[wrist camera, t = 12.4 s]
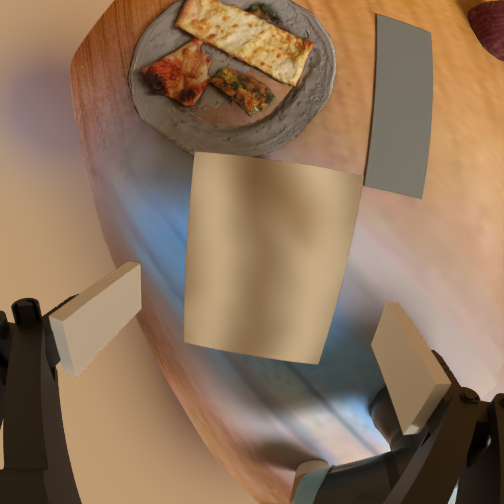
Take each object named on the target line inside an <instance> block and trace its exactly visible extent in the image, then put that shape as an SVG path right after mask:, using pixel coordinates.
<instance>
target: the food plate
mask: <svg viewBox="0 0 504 504" xmlns="http://www.w3.org/2000/svg"><path fill="white" fill-rule="evenodd" d="M299 6H300V5H298V4H296V3H295V4H294V2H292V1H291V0H178V1H177V2H174V3H173V4H171V5H170V6H169V7H168V8H167V9H165V10H164V11H163V12H162V13H161V14H160V15H159V16H158V17H157V18H156V19H154V20H153V21H152V22H151V23H150V24H149V25H148V26H147V28H146V29H145V31H144V32H143V33H142V35H141V37H140V38H139V39H138V41H137V44H136V46H135V49H134V52H133V56H132V61H131V64H130V69H129V72H128V79H127V80H128V86H129V89H130V91H131V96H132V101H133V103H134V108H135V109H136V111H137V113H138V115H139V116H140V118H141V119H142V120H143V121H144V122H146V123H147V124H148V125H150V126H151V127H153V128H154V129H155V130H157V131H158V132H160V133H161V134H163V135H164V136H165V137H166V138H168V139H169V140H171V141H173V142H174V143H175V144H176V145H177V146H179V147H180V148H182V149H184V150H185V151H186V152H187V151H189V153H190V154H191V155H193V157H194V155H195V152H206V153H218V154H228V155H238V156H246V157H255V156H257V155H259V156H260V155H262V154H264V153H265V154H266V153H268V152H272V151H273V150H276V149H277V148H280V147H281V146H282V145H284V144H286V143H288V142H289V141H290V140H291V139H294V137H297V136H298V134H299V133H300V132H301V131H303V129H305V127H306V126H307V125H308V124H309V123H310V122H311V120H312V119H313V118H314V117H315V116H316V115H317V113H318V112H319V111H320V110H321V109H322V107H323V106H324V104H325V103H326V102H327V101H328V100H329V98H330V96H331V93H332V91H333V84H334V78H335V73H336V59H335V58H336V57H335V52H334V50H335V49H334V46H333V44H332V40H331V38H330V37H329V34H328V33H327V32H326V30H325V29H324V28H323V26H322V25H321V23H320V21H319V20H318V19H317V18H318V17H317V18H316V17H315V16H313V15H314V14H313V15H312V13H311V12H310V11H308V10H307V11H306V9H305V8H303V7H302V8H301V6H300V7H299ZM304 9H305V10H304ZM309 12H310V13H311V14H310V13H309ZM205 51H206V52H208V55H206V54H205ZM222 60H223V62H221V61H222ZM228 63H229V64H230V65H228V66H227V67H226V65H227V64H228ZM309 63H310V64H309ZM249 69H252V72H255V73H258V74H259V75H265V76H267V77H268V78H269V79H273V80H274V81H277V82H279V83H282V84H283V83H286V84H288V85H289V86H293V87H294V88H293V89H291V90H290V92H289V93H288V94H287V95H286V97H285V98H284V99H283V101H282V102H281V103H280V104H279V105H278V106H277V107H276V108H275V109H274V111H273V112H272V113H271V114H270V115H268V116H266V117H264V118H263V119H262V120H260V119H259V120H257V121H256V122H255V123H251V122H250V123H248V124H247V125H246V126H244V127H243V126H242V127H239V126H235V125H234V126H233V127H234V128H231V127H229V128H228V127H227V125H222V123H220V124H219V123H217V125H218V127H214V126H212V125H211V124H207V123H205V121H203V122H204V123H203V124H200V123H198V122H196V121H192V120H191V119H192V118H190V116H189V115H190V114H191V115H192V116H195V113H196V112H191V108H193V109H195V108H197V107H198V110H199V109H200V108H202V107H204V105H206V104H207V105H208V106H209V105H210V106H211V108H215V109H218V108H219V107H220V106H221V103H223V102H224V104H225V105H226V104H228V103H230V106H232V104H231V102H232V100H234V101H235V102H236V103H237V104H238V105H240V106H241V108H243V109H244V110H245V111H246V112H247V113H248V116H250V117H252V114H255V113H256V112H258V111H262V112H263V111H265V110H266V109H267V108H268V107H270V102H272V101H273V100H276V97H275V96H274V95H273V94H272V92H271V90H270V89H269V87H267V86H266V85H265V84H264V85H262V84H261V83H260V82H257V81H256V80H255V79H253V78H251V77H250V76H249V75H246V74H247V71H248V70H249ZM218 91H219V92H218ZM223 92H224V93H223ZM229 98H231V99H229ZM216 102H219V103H218V105H217V104H215V103H216ZM223 106H224V105H222V107H223ZM186 107H187V108H186ZM203 109H204V110H207V107H206V108H203ZM181 110H186V112H182V111H181ZM186 113H187V114H186ZM198 113H199V112H198V111H197V115H198ZM220 113H221V111H220ZM218 116H220V114H218ZM220 117H222V116H220ZM195 118H196V117H195ZM196 119H199V120H200V121H202V120H201V119H200V118H199V117H197V118H196ZM204 119H205V120H206V118H204ZM181 121H184V123H182V122H181ZM213 122H214V121H213ZM243 122H244V121H243Z"/></svg>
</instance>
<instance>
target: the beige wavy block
mask: <svg viewBox="0 0 504 504" xmlns="http://www.w3.org/2000/svg"><path fill="white" fill-rule="evenodd" d="M363 179H364V176H361V175H357V174H352V173H347V172H342V171H337V170H332V169H326V168H321V167H315V166H309V165H303V164H297V163H291V162H284V161H277V160H270V159H263V158H255V157H246V156H238V155H228V154H218V153H206V152H195V155H194V164H193V174H192V184H191V195H190V207H189V219H188V233H187V249H186V269H185V294H184V342H185V343H190V344H194V345H199V346H203V347H208V348H213V349H218V350H223V351H228V352H234V353H239V354H245V355H251V356H257V357H263V358H270V359H277V360H284V361H291V362H299V363H308V364H317V365H318V364H319V361H320V358H321V355H322V351H323V348H324V345H325V342H326V339H327V335H328V332H329V329H330V325H331V322H332V318H333V315H334V311H335V308H336V304H337V300H338V296H339V293H340V289H341V285H342V281H343V277H344V273H345V269H346V265H347V260H348V256H349V252H350V247H351V243H352V238H353V233H354V228H355V223H356V218H357V213H358V208H359V202H360V197H361V191H362V185H363Z"/></svg>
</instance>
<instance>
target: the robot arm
mask: <svg viewBox="0 0 504 504" xmlns="http://www.w3.org/2000/svg"><path fill="white" fill-rule="evenodd" d="M11 308H12V312H13V316H14V320H15V323H10V322H8V321H7V318H6V314H5V312H3V311H0V429H1V425H2V421H4V422H3V448H4V468H3V469H2V470H0V504H82V503H81V500H80V497H79V494H78V490H77V487H76V483H75V480H74V476H73V472H72V468H71V463H70V459H69V455H68V450H67V445H66V439H65V434H64V428H63V421H62V414H61V407H60V398H59V387H58V375H57V369H56V364H58V363H59V362H60V361H61V365H62V368H63V370H64V372H66V373H68V374H70V375H72V376H74V377H78V376H79V375H80V374H81V373H82V371H83V370H84V369H85V368H86V367H87V366H88V365H89V364H90V363H91V362H92V360H93V359H94V358H95V357H96V356H97V355H98V354H99V353H100V352H101V351H102V350H103V349H104V348H105V347H106V345H107V344H108V343H109V342H110V341H111V340H112V339H113V338H114V337H115V336H116V335H117V334H118V333H119V332H120V330H121V329H122V328H123V327H124V326H125V325H126V324H127V323H128V322H129V321H130V320H131V319H132V318H133V317H134V316H135V315H136V314H137V313H138V312H139V311H140V310H141V309H142V302H141V273H140V263H135V262H130V261H128V262H127V263H125V264H123V265H122V266H120V267H119V268H117V269H116V270H115V271H113V272H111V273H110V274H108V275H107V276H105V277H104V278H102V279H101V280H99V281H98V282H96V283H95V284H93V285H92V286H91V287H89V288H88V289H86V290H85V291H83V292H82V293H80V294H77V295H74V296H71V297H69V298H68V299H66V300H65V301H64V302H63V303H61V304H59V305H58V307H55V308H54V309H52V310H51V311H50V312H48V313H47V314H45V315H44V316H42V315H41V310H40V306H39V302H38V300H36V299H33V298H23V299H20V300H18V301H16V302H14V303H13V304H12V306H11ZM371 347H372V349H373V352H374V354H375V357H376V359H377V362H378V364H379V367H380V370H381V372H382V375H383V378H384V380H385V383H386V387H384V388H383V389H382V390H381V391H380V393H379V394H378V395H377V396H376V398H375V399H374V401H373V403H372V406H371V416H372V420H373V423H374V426H375V427H376V428H377V429H378V431H380V433H381V434H382V436H383V437H384V438H385V440H386V441H387V442H388V443H389V445H390V449H391V451H390V452H387V453H384V454H380V455H377V456H374V457H370V458H367V459H363V460H359V461H355V462H351V463H347V464H343V465H338V466H335V465H332V466H330V467H328V468H325V469H320V470H316V471H312V472H309V473H307V474H306V475H305V476H304V477H303V478H302V479H301V481H300V483H299V485H298V487H297V490H296V494H295V499H294V504H452V503H454V502H455V504H504V393H499V394H496V396H495V397H494V398H493V400H492V401H491V402H484V401H480V397H479V395H478V394H477V393H476V392H475V391H473V390H472V389H470V388H466V387H461V386H460V385H459V383H458V381H457V380H456V378H455V377H454V375H453V373H452V372H451V370H449V367H448V366H447V365H446V363H445V361H444V360H443V358H442V357H441V356H440V355H439V354H438V353H437V352H436V351H434V350H430V348H429V347H428V345H427V344H426V342H425V341H424V339H423V338H422V336H421V335H420V333H419V332H418V330H417V329H416V327H415V326H414V324H413V323H412V322H411V320H410V319H409V317H408V316H407V314H406V313H405V312H404V310H403V309H402V307H401V306H400V305H399V303H394V302H386V303H385V306H384V309H383V312H382V315H381V318H380V321H379V324H378V327H377V330H376V333H375V335H374V338H373V341H372V344H371ZM3 418H4V419H3ZM489 444H490V445H489Z"/></svg>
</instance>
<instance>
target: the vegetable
mask: <svg viewBox="0 0 504 504" xmlns="http://www.w3.org/2000/svg"><path fill="white" fill-rule="evenodd" d="M468 19H469V22H470V24H471V27H472V28H473V30H474V32H475V34H476V36H477V38H478V40H479V41H480V43H481V44H482V46H483V47H484V48H485V49H486V50H487V51H488V52H489V53H490V54H492V55H493V56H495V57H496V58H497V59H499V60H501V61H504V0H498V1H489V2H485V3H482V4H479V5H477V6H475V7H474V8H472V9H471V10H470V11H469V12H468Z"/></svg>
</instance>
